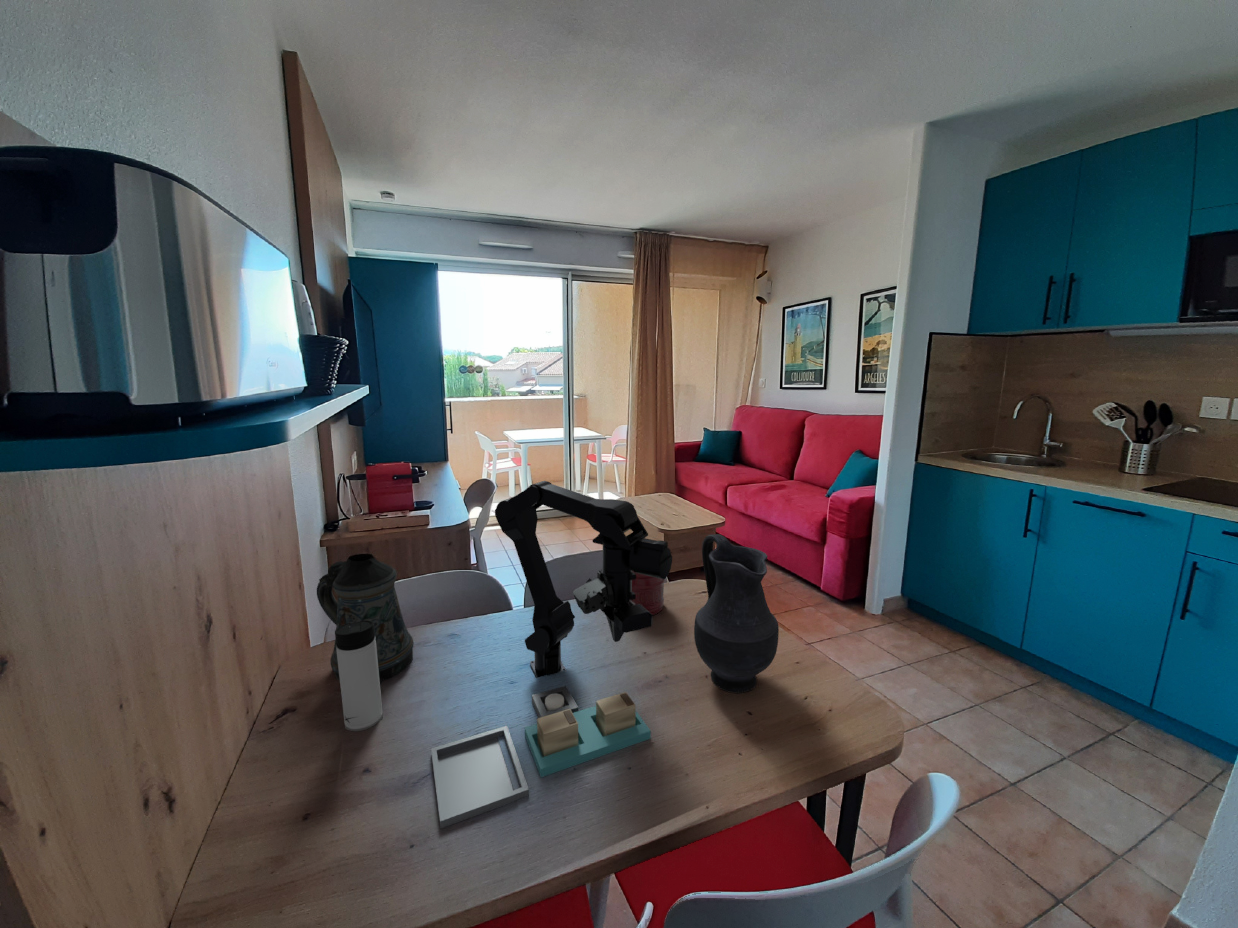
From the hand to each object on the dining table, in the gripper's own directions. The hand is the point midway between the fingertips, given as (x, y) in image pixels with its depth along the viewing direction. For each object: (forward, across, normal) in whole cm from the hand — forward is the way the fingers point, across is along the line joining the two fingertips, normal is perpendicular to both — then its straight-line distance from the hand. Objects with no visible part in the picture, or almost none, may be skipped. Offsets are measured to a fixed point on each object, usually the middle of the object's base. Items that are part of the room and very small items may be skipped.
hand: (616, 640), depth 97 cm
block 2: (+11, +10, -4) cm, 15 cm away
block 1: (+11, +10, -16) cm, 21 cm away
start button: (+12, 0, -13) cm, 17 cm away
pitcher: (+12, +4, +25) cm, 28 cm away
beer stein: (+12, -32, -46) cm, 57 cm away
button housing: (+12, 0, -13) cm, 18 cm away
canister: (+12, -31, +22) cm, 40 cm away
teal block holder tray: (+12, +10, -10) cm, 18 cm away
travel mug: (+12, -12, -46) cm, 49 cm away
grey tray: (+12, +10, -29) cm, 33 cm away
